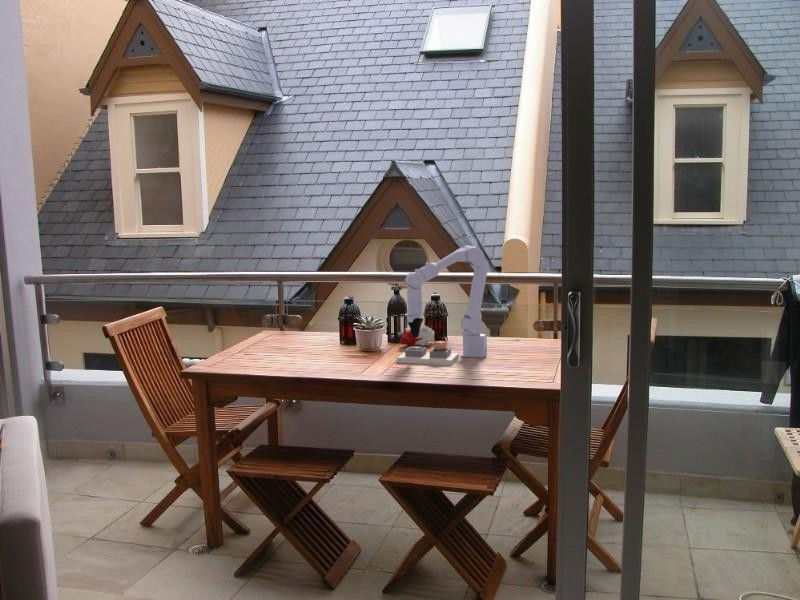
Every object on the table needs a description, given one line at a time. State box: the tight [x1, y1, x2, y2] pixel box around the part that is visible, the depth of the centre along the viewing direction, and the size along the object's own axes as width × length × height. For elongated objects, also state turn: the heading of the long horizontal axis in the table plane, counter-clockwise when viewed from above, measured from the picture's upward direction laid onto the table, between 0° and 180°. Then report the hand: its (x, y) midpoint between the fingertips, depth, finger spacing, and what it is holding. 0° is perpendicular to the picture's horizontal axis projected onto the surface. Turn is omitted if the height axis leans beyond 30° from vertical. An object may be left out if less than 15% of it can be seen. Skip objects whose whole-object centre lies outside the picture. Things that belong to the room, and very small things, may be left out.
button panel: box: [396, 346, 460, 366], centre depth 315 cm, size 22×12×4 cm, turn 72°
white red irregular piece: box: [399, 324, 434, 347], centre depth 341 cm, size 9×11×15 cm
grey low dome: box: [409, 345, 423, 351], centre depth 316 cm, size 5×5×2 cm
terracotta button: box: [433, 340, 447, 350], centre depth 313 cm, size 5×5×2 cm
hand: (415, 336), depth 315 cm, fingers closed
